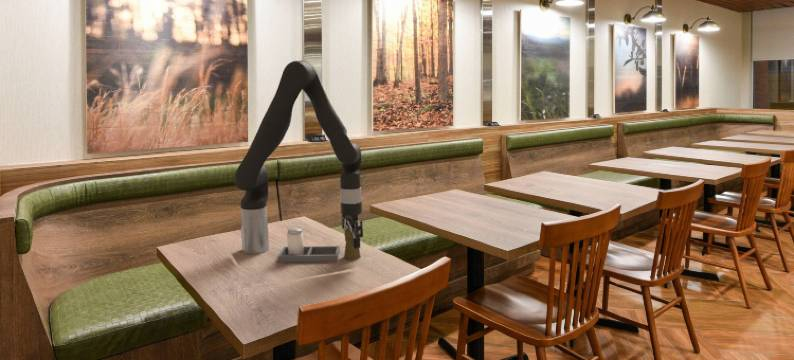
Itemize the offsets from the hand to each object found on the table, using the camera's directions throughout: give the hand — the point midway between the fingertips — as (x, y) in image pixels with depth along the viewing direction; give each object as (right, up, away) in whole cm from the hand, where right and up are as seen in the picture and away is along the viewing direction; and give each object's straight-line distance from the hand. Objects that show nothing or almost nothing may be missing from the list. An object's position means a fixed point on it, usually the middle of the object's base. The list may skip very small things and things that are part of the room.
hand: (352, 244), depth 194 cm
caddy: (-15, -5, +2) cm, 16 cm away
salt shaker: (-20, -5, +1) cm, 21 cm away
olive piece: (0, -5, +1) cm, 6 cm away
